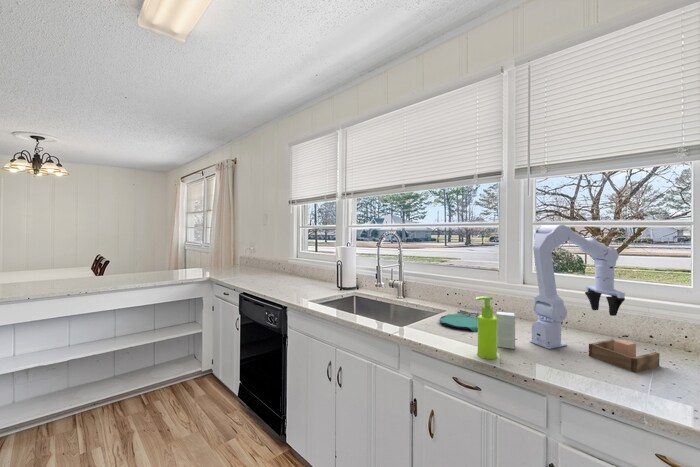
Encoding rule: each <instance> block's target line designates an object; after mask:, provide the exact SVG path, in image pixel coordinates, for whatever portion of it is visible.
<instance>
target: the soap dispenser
mask: <svg viewBox="0 0 700 467" xmlns="http://www.w3.org/2000/svg"><path fill="white" fill-rule="evenodd" d="M474 299H475V300H476V301H480V300H481V301H482V300H484V304H483V305H482V306H481V314H482V315H479V316H478V317H477V318H478V330H477V356H478V357H480V358H482V357H483V359H485V358H487V359H486V360H495V359H496V358H497V356H498V355H497V353H498V352H497V350H498V349H497V348H498V347H497V316H494V314H493V311H494V309H493V308H494V307H493V306H492V305H491V300H493V297H491V296H487V295H486V296H483V295H481V296H480V295H479V296H476V297H474ZM494 358H495V359H494Z"/></svg>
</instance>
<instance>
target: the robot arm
mask: <svg viewBox="0 0 700 467" xmlns="http://www.w3.org/2000/svg"><path fill="white" fill-rule="evenodd" d="M533 238H534V242H533V248H532V249H533V257H534V264H535V272H536V279H537V285H538V293H539V294H537V295H535V297H534V298H533V300H534V303H533V311H534V313H535V315H536V318H537V320H536V321H534V322H533V323H532V324H531V339H530V340H529V342H530V343H532V344H535V345H537V346H540V347H542V348H545V349H548V350H549V349H556V348H560V347H561V348H562V347H566V346H568V344H567V343H565V342H563V341H562V323H564V321H565V319H566V318H567V315H568V310H567V308H566V306H565V304H564V300H563V299H562V298H561V297H560V295H558V292H557V285H556V278H555V270H554V269H555V268H554V264H553V263H554V261H553V256H552V255H553V254H552V252H553V251H554V250H555V249H557V248H558V247H560V246H561V245H563V244H564V243H565V242H569V243H571V244H574V245H576V246H578V248H579V250H580V251H581V252H583V253H584V254H587V255H589V256H590V257H591V259H592V260H594V285H585V292H584V294H585V296H586V298H587V299H588V301H589V304H590V307H591V310H592V311H598V310H599V308H600V300H601V297H602V294H604V295H606V298H605V299H606V300H607V304H608V312H609V314H608V315H609V316H617V314H618V311H619V310H620V307H621V305H622V304H623V302H624V301H625V300H626V298H625V296H626V294H625V293H626V292H622V291H620V290H616V289H615V285H614V284H615V267H616V265H617V260H618V259H619V257H620V254H619V251H618V250H617V249H616V248H614V247H612V246H607V245H605V243H603V242H599V241H598V240H596V239H597V238H595V237H584V236H582V235H580V234H578V233H577V232H576V231H574V230H572V228H571V227H569V226H566V225H564V224H540V225H538V227H536V229H535V230H534V231H533Z"/></svg>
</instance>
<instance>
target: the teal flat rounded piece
mask: <svg viewBox="0 0 700 467" xmlns="http://www.w3.org/2000/svg"><path fill="white" fill-rule="evenodd" d="M479 315H482V313H479V312H477V313H476V312H469V311H466V310H462V309H459V311H457V312H456V313H448V314H445V315H442V316H441V317H439V319H438V321H439V322H440V324H442V325H444V324H445V325H447V326H448V327H449V326H450V327H453V328H457V329H464V330H465V329H466V330H471V331H472V332H478V316H479Z"/></svg>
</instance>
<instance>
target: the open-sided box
mask: <svg viewBox="0 0 700 467" xmlns="http://www.w3.org/2000/svg"><path fill="white" fill-rule="evenodd" d="M615 340H616V339H612V338H611V339H606V340H601V341H597V342H591V343H588V356H589V357H590V358H594V359H597V360H600V361H602V362H606V363H608V364H610V365H614V366H616V367H619V368H621V369H624V370H627V371H630V372H633V373H637V372H641V371H642V372H643V371H646V370H649V369H654V368H657V367H660V353H659V352H657V351H654V352H650V353H645V354H642V355H638V356H637V355H636V357H631V356H628V355H625V354H621V353H618V352H615V351H614V341H615Z"/></svg>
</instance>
